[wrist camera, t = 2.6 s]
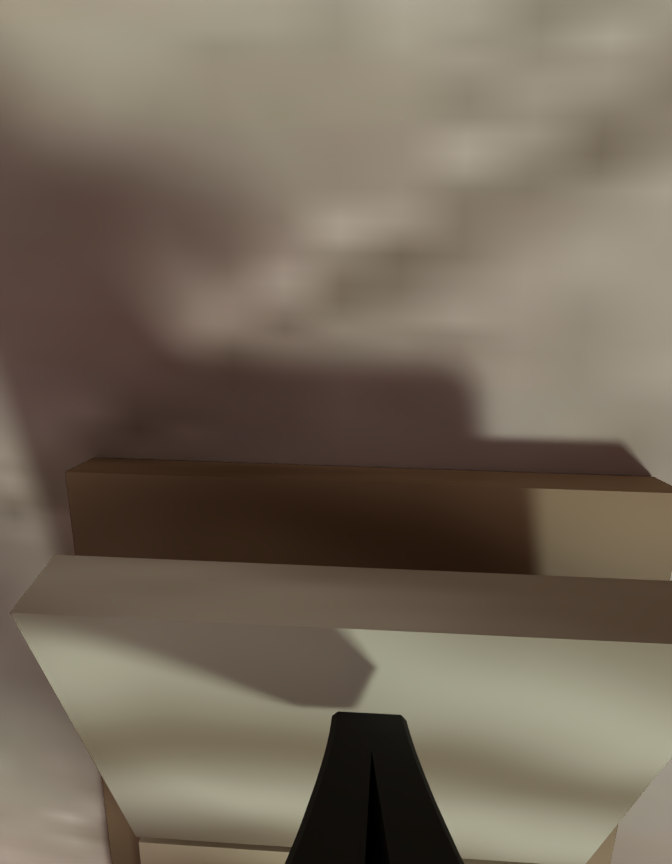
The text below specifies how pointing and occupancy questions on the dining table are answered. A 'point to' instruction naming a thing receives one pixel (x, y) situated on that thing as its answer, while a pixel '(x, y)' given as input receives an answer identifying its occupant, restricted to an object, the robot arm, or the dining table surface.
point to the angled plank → (359, 692)
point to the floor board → (361, 545)
